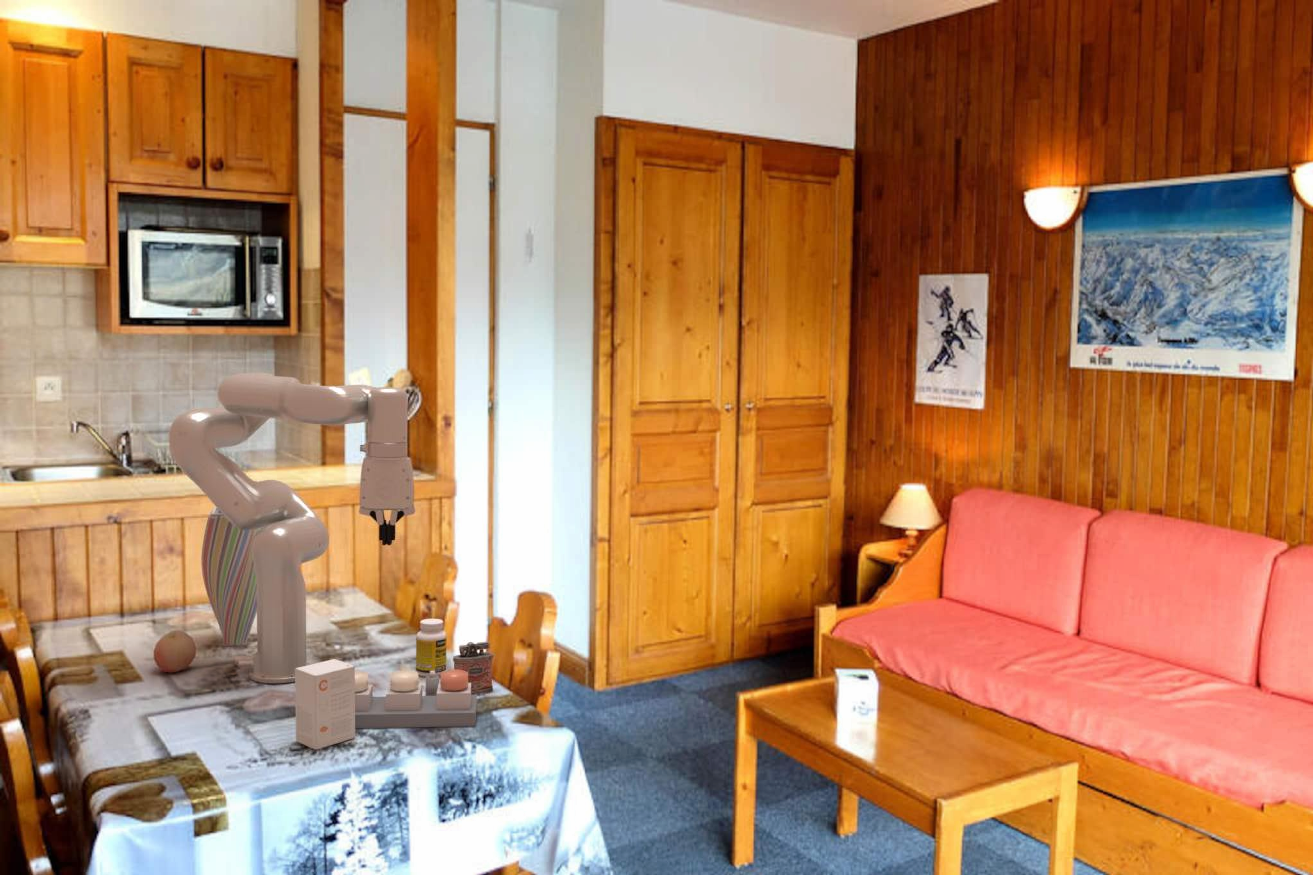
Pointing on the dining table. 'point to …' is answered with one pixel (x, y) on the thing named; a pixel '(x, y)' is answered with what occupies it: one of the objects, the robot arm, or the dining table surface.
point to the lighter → (476, 666)
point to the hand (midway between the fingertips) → (387, 543)
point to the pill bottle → (431, 648)
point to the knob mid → (404, 680)
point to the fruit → (174, 651)
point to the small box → (325, 703)
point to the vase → (230, 577)
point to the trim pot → (431, 684)
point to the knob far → (454, 680)
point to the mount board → (415, 708)
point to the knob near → (361, 681)
